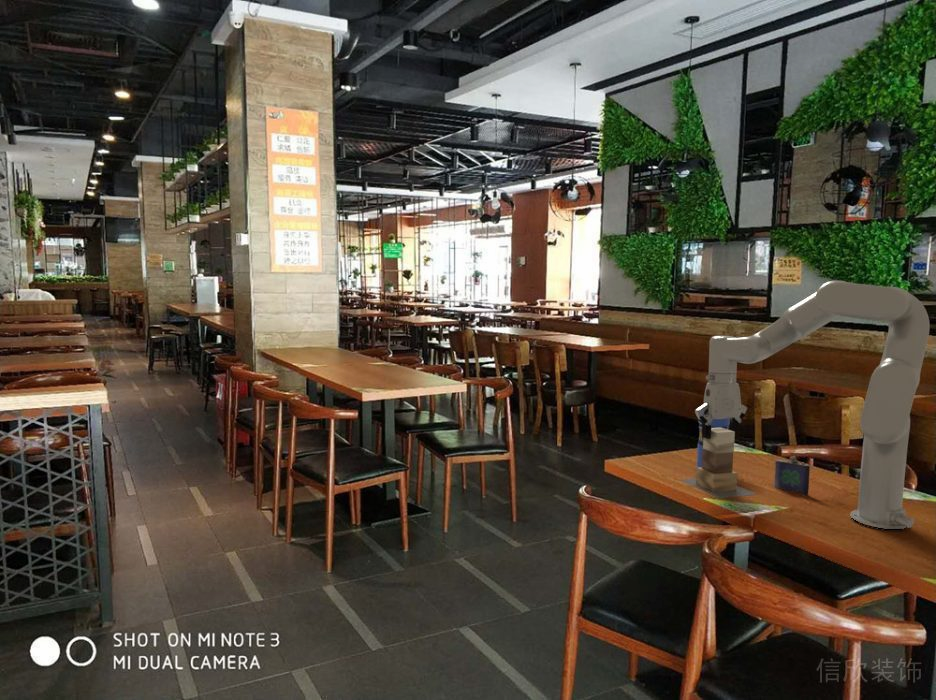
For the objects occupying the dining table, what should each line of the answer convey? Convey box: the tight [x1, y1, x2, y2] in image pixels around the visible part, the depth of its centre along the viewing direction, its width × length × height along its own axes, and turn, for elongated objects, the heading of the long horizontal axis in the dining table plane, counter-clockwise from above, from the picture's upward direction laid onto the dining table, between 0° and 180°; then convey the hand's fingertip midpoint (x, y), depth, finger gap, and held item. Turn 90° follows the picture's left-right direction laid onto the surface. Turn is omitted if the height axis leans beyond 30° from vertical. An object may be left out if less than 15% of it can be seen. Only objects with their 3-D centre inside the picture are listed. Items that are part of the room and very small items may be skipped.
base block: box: [695, 467, 738, 492], centre depth 195 cm, size 8×8×5 cm
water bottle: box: [696, 412, 731, 469], centre depth 213 cm, size 9×9×25 cm
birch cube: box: [703, 427, 736, 454], centre depth 194 cm, size 6×6×6 cm
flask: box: [773, 455, 811, 496], centre depth 194 cm, size 9×3×11 cm, turn 50°
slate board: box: [680, 477, 758, 499], centre depth 196 cm, size 18×13×1 cm
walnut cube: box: [702, 449, 734, 474], centre depth 195 cm, size 6×6×6 cm
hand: (720, 436), depth 194 cm, fingers open, 9 cm apart
